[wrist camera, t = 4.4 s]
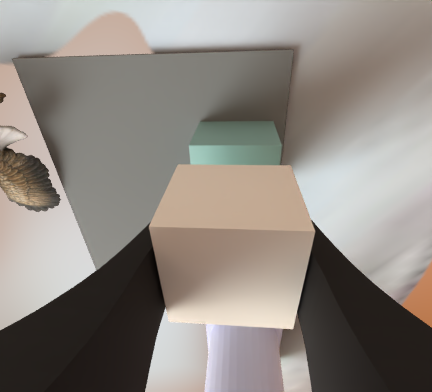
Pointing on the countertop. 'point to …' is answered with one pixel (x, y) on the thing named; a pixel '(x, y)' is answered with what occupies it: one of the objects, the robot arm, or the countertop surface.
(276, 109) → the build mat
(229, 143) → the teal brick
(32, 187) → the eagle figurine
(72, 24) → the countertop surface
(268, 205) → the cream brick
